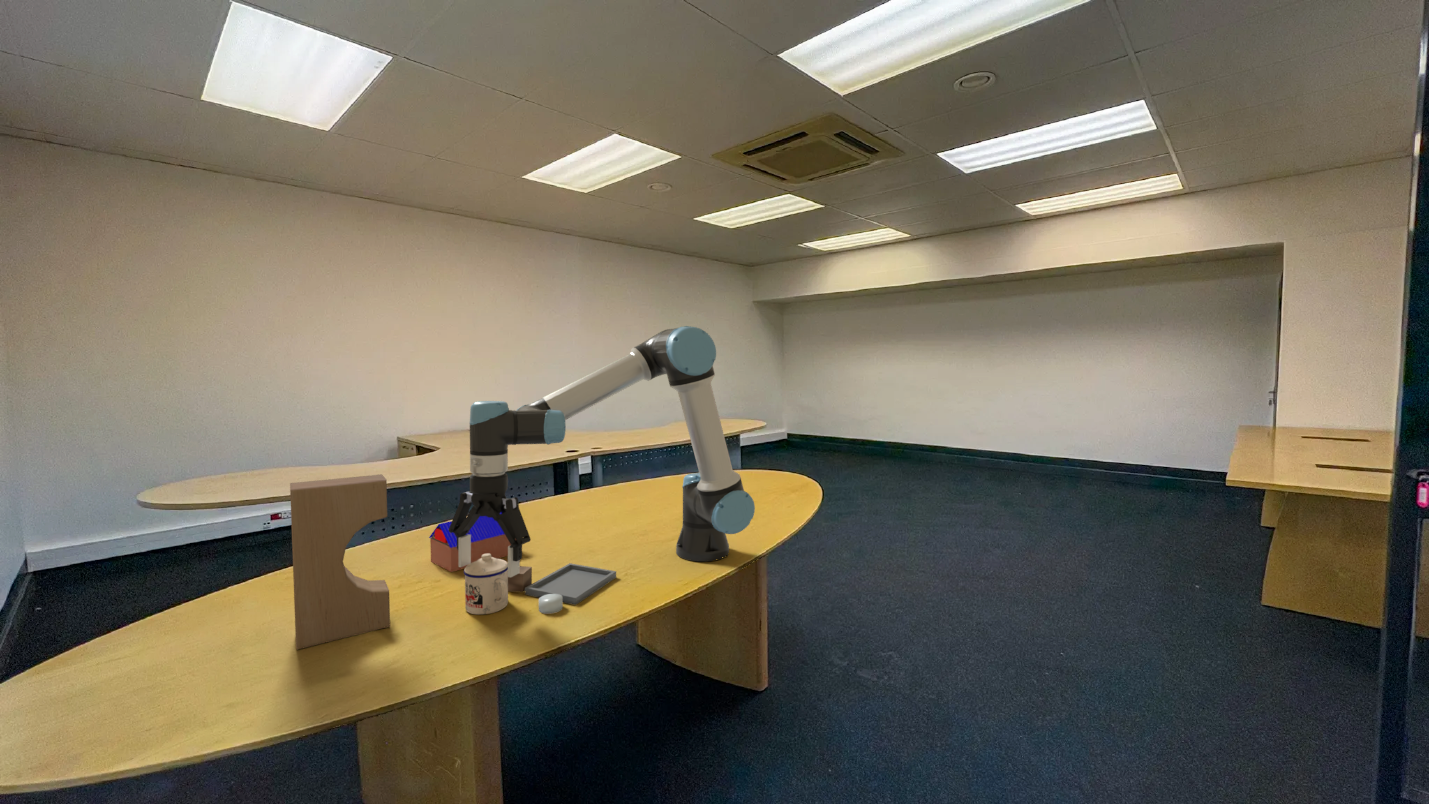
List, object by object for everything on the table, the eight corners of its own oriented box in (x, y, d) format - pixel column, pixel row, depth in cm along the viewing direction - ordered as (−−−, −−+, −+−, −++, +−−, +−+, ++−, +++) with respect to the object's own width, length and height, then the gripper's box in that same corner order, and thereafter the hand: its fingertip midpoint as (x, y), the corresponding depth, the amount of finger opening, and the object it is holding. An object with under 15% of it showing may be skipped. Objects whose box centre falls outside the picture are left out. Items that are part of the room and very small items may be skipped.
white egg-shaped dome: (567, 606, 119) (567, 596, 119) (552, 616, 115) (552, 605, 114) (548, 602, 121) (548, 592, 121) (533, 611, 116) (533, 601, 116)
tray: (616, 577, 135) (616, 571, 135) (575, 605, 120) (575, 598, 120) (569, 569, 140) (569, 563, 140) (524, 594, 125) (524, 587, 125)
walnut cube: (531, 585, 130) (531, 566, 130) (523, 592, 126) (523, 573, 126) (514, 583, 131) (513, 565, 131) (504, 591, 126) (504, 572, 126)
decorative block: (296, 650, 99) (290, 490, 97) (295, 634, 105) (289, 482, 103) (390, 627, 108) (386, 480, 106) (385, 613, 114) (381, 473, 112)
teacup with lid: (456, 607, 117) (455, 555, 117) (494, 594, 125) (494, 544, 124) (486, 624, 110) (485, 568, 109) (525, 608, 117) (524, 556, 117)
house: (521, 552, 153) (520, 512, 152) (450, 573, 137) (449, 528, 136) (498, 543, 160) (498, 505, 159) (428, 562, 144) (428, 519, 144)
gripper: (430, 470, 116) (431, 566, 118) (523, 482, 108) (523, 586, 109) (458, 465, 123) (458, 555, 125) (548, 475, 115) (547, 573, 116)
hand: (488, 570), depth 117 cm, fingers open, 13 cm apart
